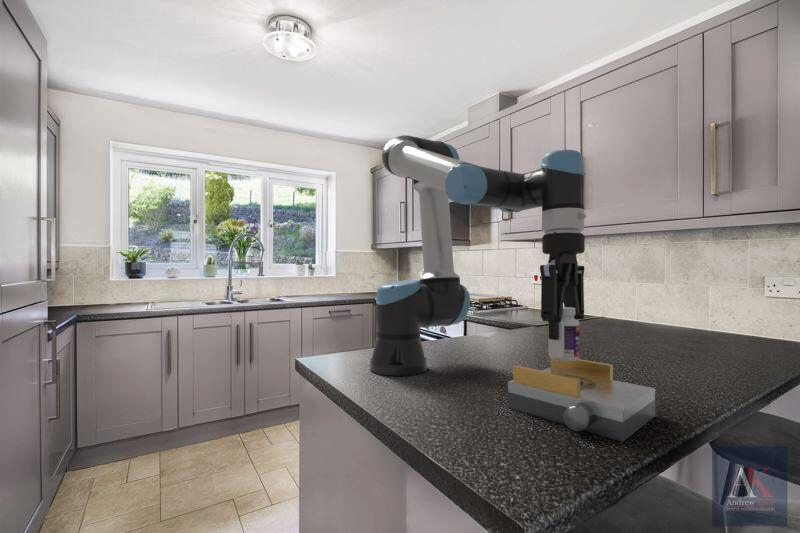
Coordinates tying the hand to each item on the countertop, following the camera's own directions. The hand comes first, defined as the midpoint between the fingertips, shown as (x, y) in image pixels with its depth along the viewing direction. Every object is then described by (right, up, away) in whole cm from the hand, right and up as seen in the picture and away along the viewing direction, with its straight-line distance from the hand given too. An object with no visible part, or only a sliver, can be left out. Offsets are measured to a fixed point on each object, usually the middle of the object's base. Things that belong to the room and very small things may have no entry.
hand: (563, 354), depth 74 cm
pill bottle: (0, -1, 0) cm, 1 cm away
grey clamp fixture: (+1, -10, -3) cm, 11 cm away
